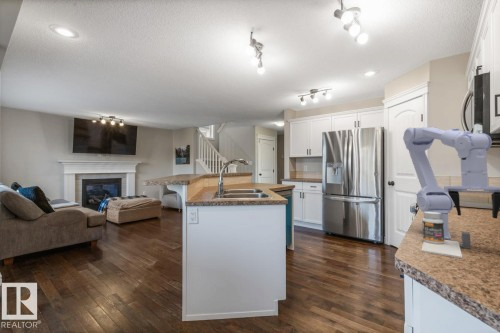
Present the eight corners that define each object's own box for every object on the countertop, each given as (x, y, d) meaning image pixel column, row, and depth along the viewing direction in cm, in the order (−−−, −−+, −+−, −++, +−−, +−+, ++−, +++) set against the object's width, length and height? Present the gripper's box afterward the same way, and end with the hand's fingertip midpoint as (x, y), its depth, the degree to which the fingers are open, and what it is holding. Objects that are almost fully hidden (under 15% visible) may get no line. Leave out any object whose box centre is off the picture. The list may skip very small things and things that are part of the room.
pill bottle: (425, 243, 74) (423, 213, 75) (421, 238, 80) (420, 210, 80) (447, 245, 72) (445, 214, 72) (441, 240, 77) (440, 211, 77)
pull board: (424, 238, 81) (424, 226, 82) (469, 244, 74) (468, 230, 74) (421, 251, 68) (420, 236, 68) (475, 260, 60) (474, 243, 60)
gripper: (443, 172, 71) (445, 215, 70) (512, 171, 61) (516, 221, 61) (442, 172, 76) (444, 212, 75) (507, 171, 66) (509, 217, 66)
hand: (476, 216), depth 68 cm, fingers open, 7 cm apart
